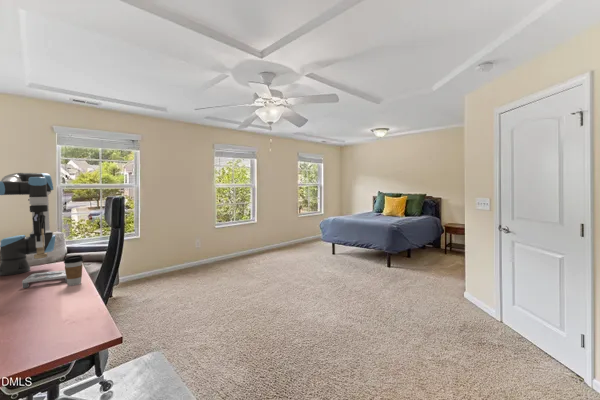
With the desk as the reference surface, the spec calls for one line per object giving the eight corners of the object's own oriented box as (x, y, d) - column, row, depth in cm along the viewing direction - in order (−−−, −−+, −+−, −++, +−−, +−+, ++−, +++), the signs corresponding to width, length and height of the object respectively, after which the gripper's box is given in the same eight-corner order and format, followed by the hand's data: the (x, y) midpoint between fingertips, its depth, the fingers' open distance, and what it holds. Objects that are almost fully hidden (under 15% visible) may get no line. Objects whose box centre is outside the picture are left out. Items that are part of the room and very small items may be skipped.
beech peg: (36, 257, 165) (34, 228, 165) (48, 256, 168) (47, 228, 167) (32, 259, 160) (31, 229, 160) (45, 257, 163) (44, 229, 163)
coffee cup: (87, 281, 164) (86, 255, 164) (74, 286, 156) (73, 258, 155) (74, 281, 165) (73, 255, 164) (60, 286, 156) (59, 258, 156)
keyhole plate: (32, 280, 169) (32, 273, 169) (75, 275, 178) (75, 268, 178) (22, 288, 155) (22, 280, 155) (70, 282, 164) (69, 275, 164)
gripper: (34, 204, 169) (36, 245, 169) (24, 205, 155) (26, 249, 155) (51, 204, 172) (52, 244, 173) (42, 204, 158) (44, 248, 159)
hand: (40, 246), depth 164 cm, fingers closed on beech peg, 3 cm apart
